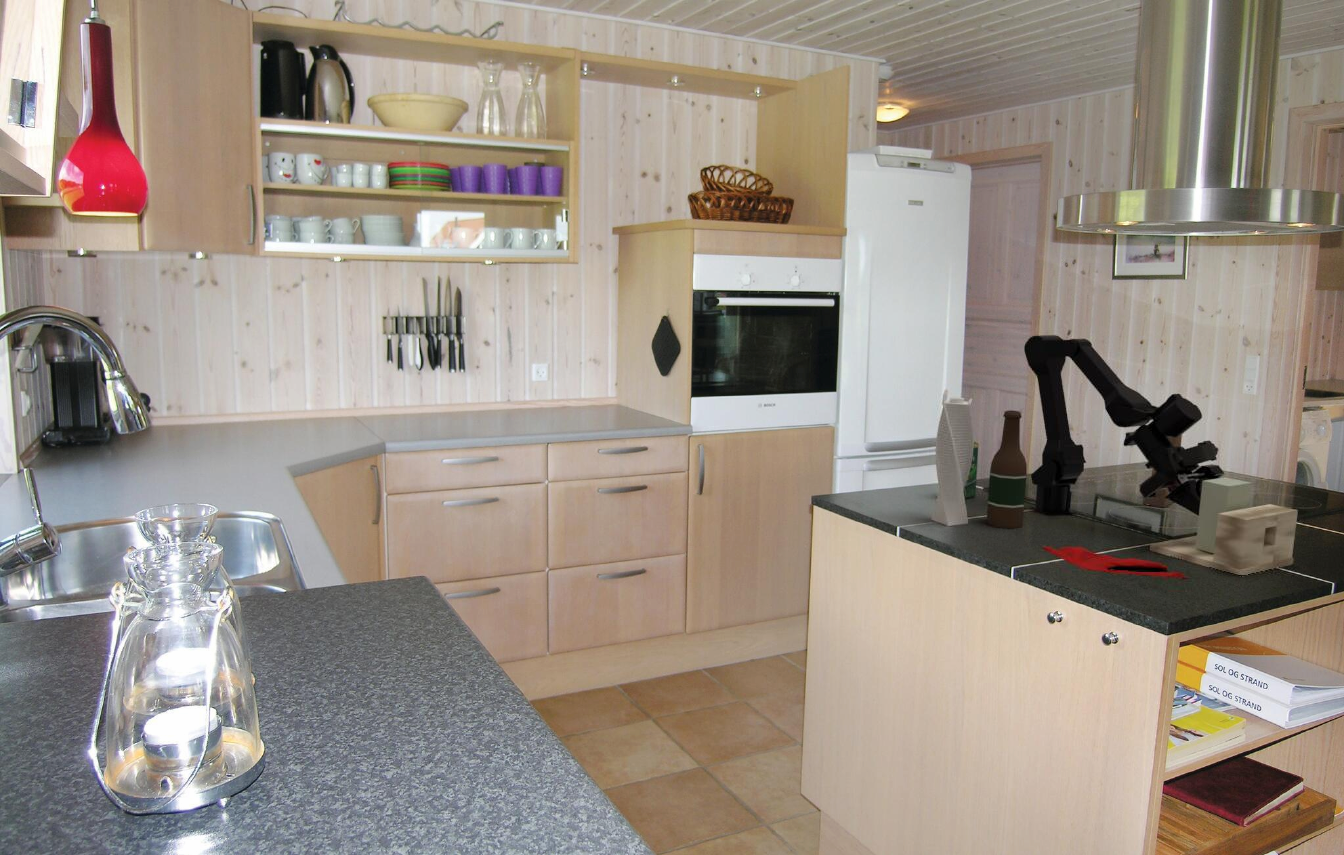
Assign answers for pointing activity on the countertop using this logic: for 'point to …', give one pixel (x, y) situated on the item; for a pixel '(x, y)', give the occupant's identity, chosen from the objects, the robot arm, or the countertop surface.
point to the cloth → (1107, 562)
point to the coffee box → (972, 475)
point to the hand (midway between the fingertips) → (1208, 518)
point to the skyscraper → (953, 460)
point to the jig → (1242, 541)
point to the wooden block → (1162, 493)
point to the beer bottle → (1007, 477)
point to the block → (1219, 507)
